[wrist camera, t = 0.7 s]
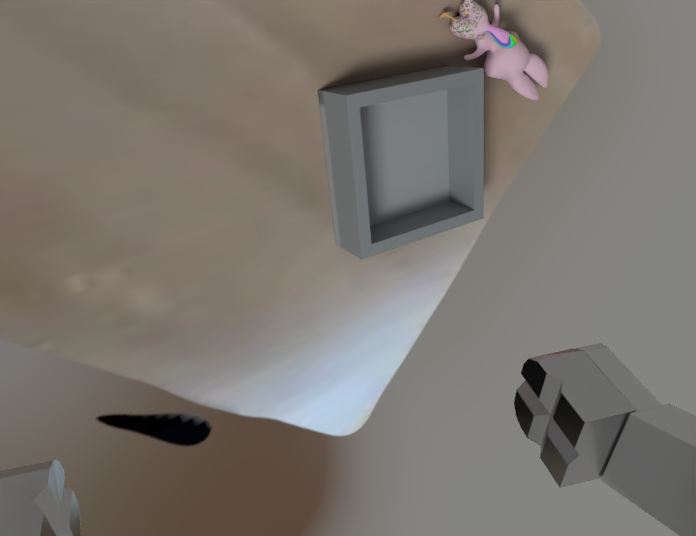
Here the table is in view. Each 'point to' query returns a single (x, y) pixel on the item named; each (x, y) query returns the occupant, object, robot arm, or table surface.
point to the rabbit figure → (499, 49)
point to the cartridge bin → (404, 156)
